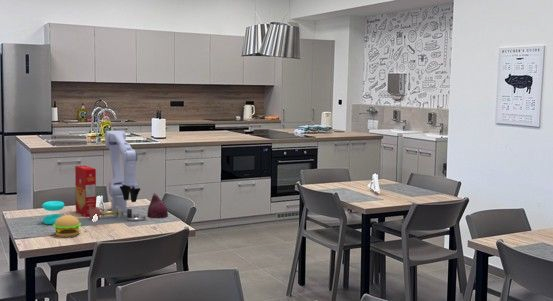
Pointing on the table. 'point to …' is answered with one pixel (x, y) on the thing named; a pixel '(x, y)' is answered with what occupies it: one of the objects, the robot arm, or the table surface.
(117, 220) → the board
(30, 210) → the table surface
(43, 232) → the table surface
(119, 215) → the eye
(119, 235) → the table surface
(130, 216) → the handwheel
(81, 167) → the food packaging
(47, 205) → the cyan stacked discs
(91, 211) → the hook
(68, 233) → the hamburger
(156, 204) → the vegetable
